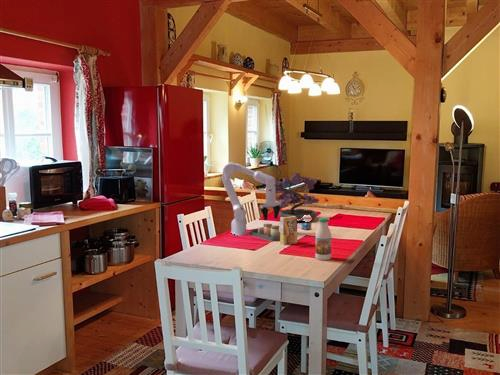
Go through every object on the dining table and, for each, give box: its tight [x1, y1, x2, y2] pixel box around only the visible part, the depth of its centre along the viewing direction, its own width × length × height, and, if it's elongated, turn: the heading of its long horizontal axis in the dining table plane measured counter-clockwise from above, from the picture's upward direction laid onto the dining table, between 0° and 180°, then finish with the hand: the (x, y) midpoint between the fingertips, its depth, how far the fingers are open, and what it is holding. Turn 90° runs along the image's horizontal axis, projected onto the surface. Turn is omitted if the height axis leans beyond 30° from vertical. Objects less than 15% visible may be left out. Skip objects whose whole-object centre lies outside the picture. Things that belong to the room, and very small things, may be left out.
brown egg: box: [271, 225, 280, 237], centre depth 277 cm, size 5×5×7 cm
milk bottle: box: [314, 217, 332, 261], centre depth 236 cm, size 8×8×20 cm
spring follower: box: [257, 226, 264, 235], centre depth 288 cm, size 4×6×4 cm, turn 126°
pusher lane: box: [249, 227, 280, 242], centre depth 282 cm, size 22×12×4 cm, turn 36°
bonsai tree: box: [275, 172, 320, 221], centre depth 335 cm, size 35×27×32 cm
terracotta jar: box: [263, 223, 273, 237], centre depth 282 cm, size 5×5×7 cm
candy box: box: [279, 216, 298, 246], centre depth 265 cm, size 9×4×15 cm, turn 116°
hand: (270, 219), depth 290 cm, fingers open, 7 cm apart
